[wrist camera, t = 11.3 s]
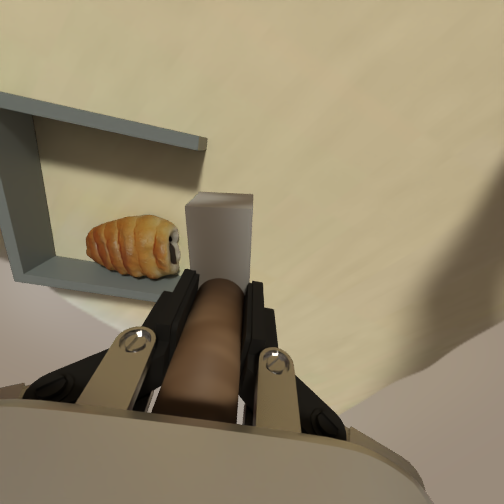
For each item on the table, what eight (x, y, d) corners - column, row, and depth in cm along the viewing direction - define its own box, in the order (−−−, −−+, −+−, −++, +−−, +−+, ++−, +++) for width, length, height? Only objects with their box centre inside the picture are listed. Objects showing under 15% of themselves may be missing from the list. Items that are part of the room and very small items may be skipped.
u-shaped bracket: (207, 138, 21) (199, 136, 17) (191, 284, 27) (182, 306, 24) (16, 95, 19) (-38, 83, 16) (47, 262, 26) (14, 281, 22)
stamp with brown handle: (253, 194, 13) (249, 289, 5) (247, 327, 17) (239, 493, 9) (199, 191, 13) (104, 282, 5) (207, 326, 17) (164, 490, 9)
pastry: (102, 268, 26) (81, 286, 23) (86, 211, 24) (59, 221, 20) (184, 269, 27) (175, 287, 23) (178, 212, 24) (166, 223, 20)
